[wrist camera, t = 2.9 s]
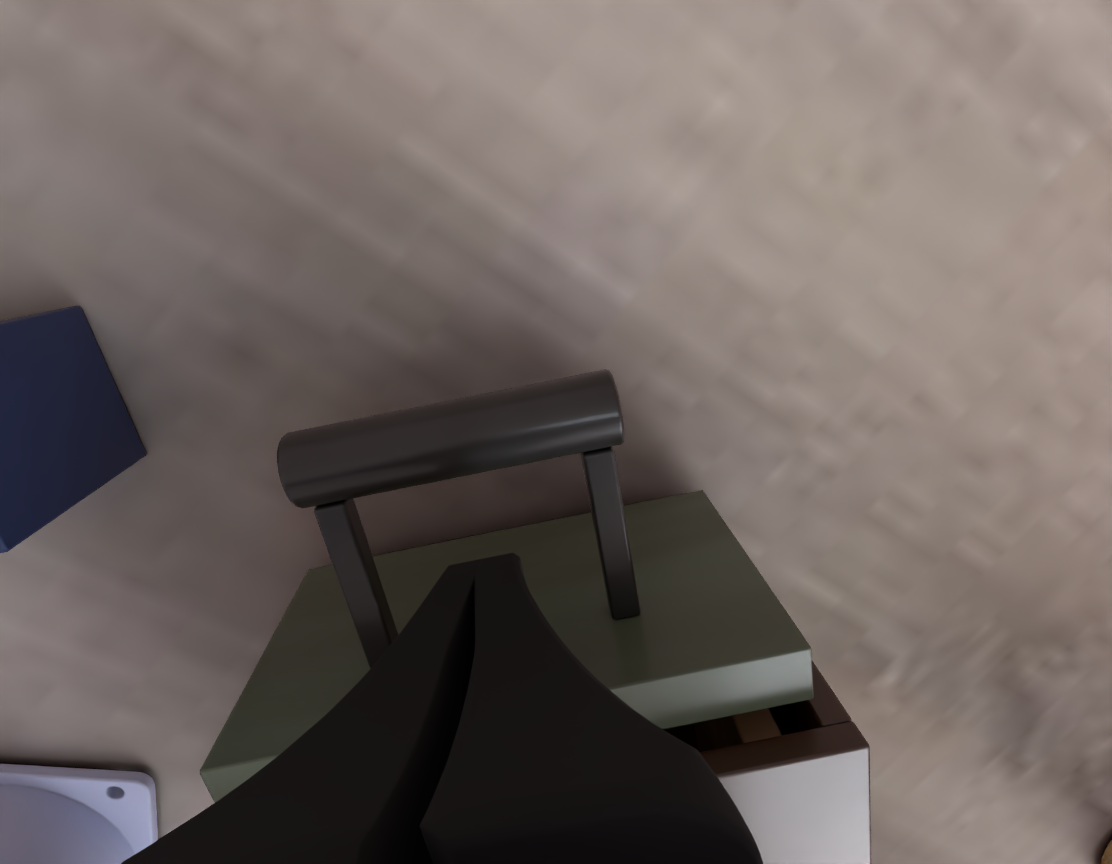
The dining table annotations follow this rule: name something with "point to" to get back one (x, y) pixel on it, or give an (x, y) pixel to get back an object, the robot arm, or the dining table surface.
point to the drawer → (549, 568)
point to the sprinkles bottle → (1107, 854)
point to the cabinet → (803, 783)
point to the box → (56, 421)
